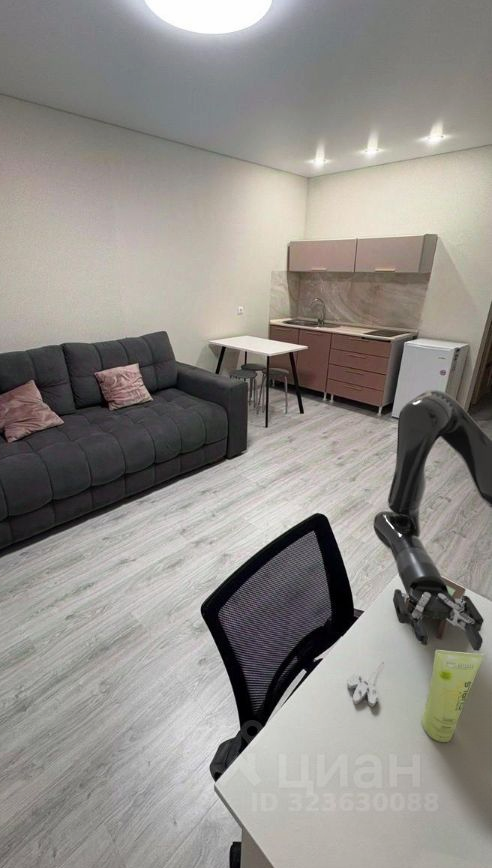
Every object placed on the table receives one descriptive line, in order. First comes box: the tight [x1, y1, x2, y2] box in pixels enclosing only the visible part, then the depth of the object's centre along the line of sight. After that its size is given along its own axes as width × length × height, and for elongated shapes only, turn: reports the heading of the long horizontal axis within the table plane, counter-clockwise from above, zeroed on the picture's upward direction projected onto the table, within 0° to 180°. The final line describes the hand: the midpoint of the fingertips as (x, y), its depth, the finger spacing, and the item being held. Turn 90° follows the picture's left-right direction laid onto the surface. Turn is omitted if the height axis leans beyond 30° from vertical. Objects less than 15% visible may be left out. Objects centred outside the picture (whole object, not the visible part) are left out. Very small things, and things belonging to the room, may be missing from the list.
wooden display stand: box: [405, 576, 466, 640], centre depth 95 cm, size 12×9×9 cm
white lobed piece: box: [346, 661, 384, 707], centre depth 81 cm, size 6×12×3 cm, turn 151°
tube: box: [421, 649, 485, 743], centre depth 69 cm, size 6×5×20 cm
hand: (451, 644), depth 69 cm, fingers open, 8 cm apart
